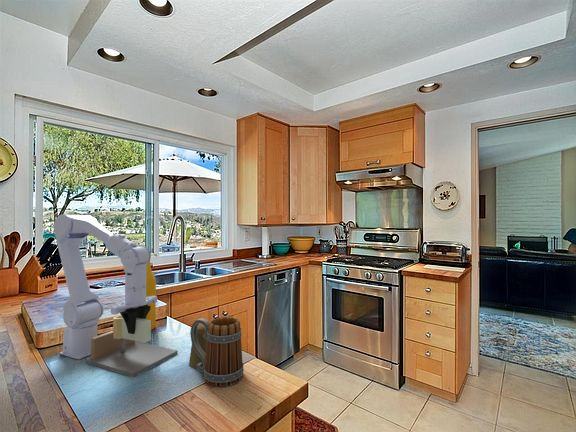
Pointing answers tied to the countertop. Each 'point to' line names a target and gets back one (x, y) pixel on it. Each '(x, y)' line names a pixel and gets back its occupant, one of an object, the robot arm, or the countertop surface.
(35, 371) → the countertop surface
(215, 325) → the mug
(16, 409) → the countertop surface
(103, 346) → the cabinet base
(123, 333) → the door
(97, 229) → the robot arm
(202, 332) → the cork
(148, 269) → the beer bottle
